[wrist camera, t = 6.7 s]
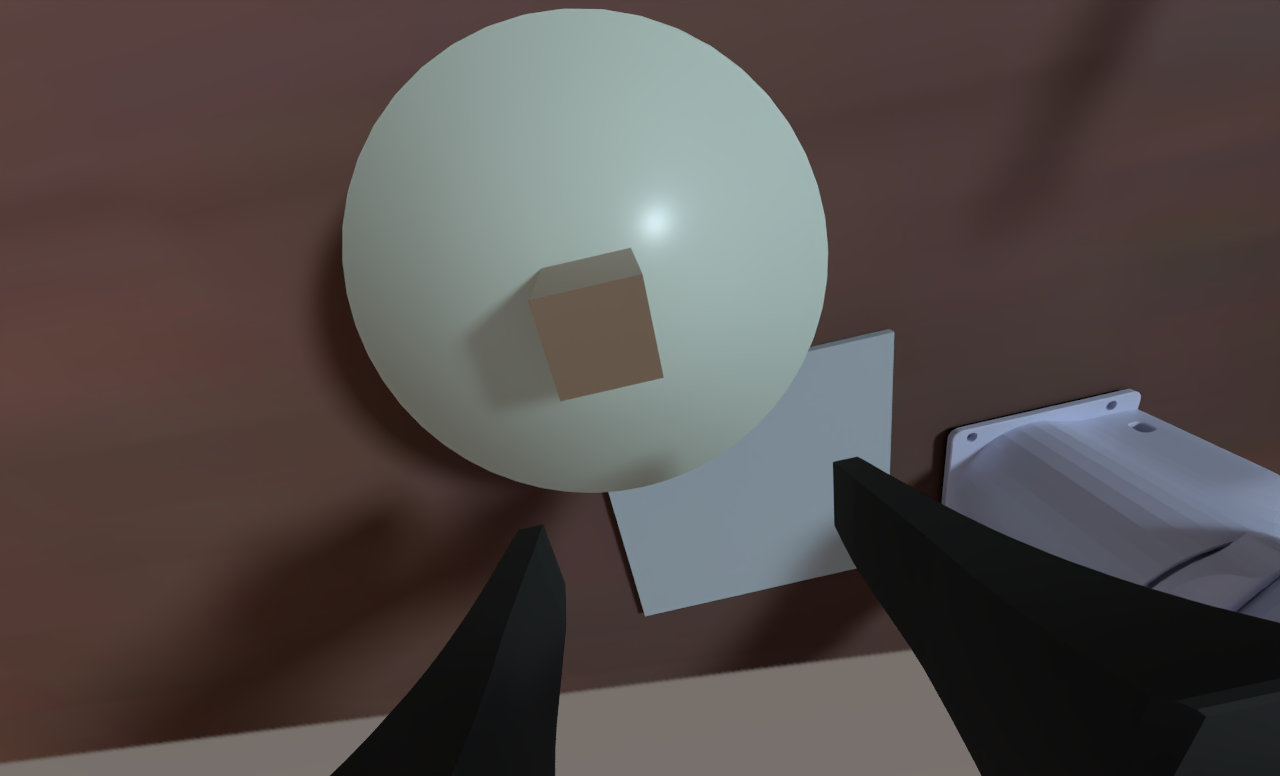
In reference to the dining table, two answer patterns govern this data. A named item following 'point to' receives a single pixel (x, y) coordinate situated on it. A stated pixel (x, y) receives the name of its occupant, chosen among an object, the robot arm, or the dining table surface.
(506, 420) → the lid
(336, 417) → the dining table surface
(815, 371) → the mat
